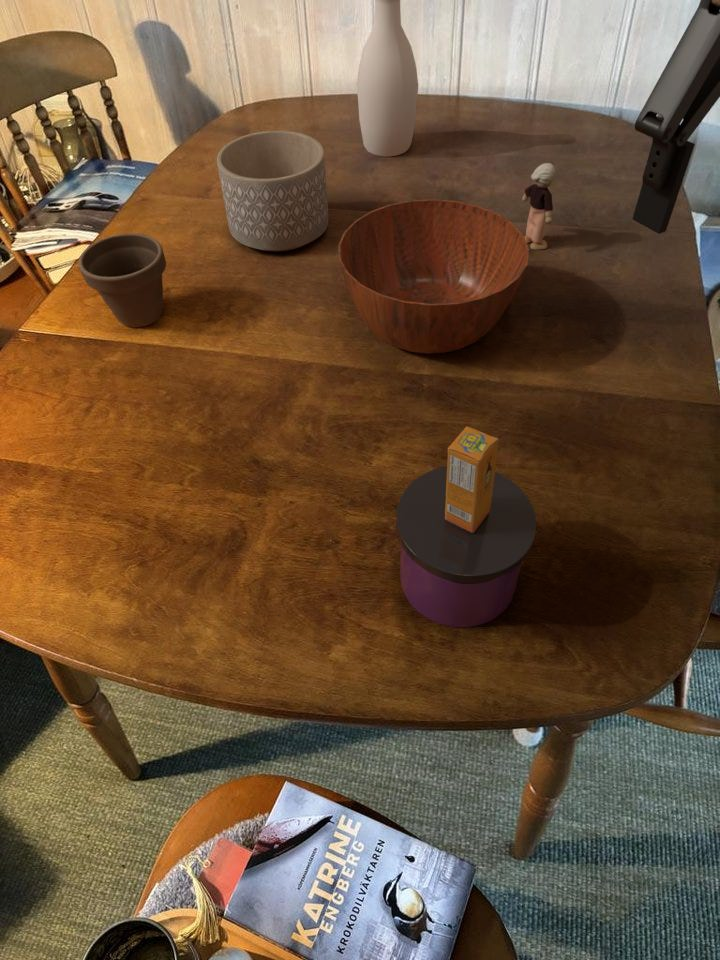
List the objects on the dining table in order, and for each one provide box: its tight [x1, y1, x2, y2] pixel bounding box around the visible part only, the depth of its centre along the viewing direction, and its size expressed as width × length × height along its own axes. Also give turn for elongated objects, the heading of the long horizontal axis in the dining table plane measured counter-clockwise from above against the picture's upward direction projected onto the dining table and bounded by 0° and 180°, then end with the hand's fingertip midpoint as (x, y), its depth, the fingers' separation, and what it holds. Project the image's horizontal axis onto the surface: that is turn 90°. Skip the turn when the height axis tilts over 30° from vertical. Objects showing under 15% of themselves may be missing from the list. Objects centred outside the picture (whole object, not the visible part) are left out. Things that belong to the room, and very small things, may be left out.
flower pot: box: [78, 232, 167, 328], centre depth 101 cm, size 12×11×10 cm
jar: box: [395, 465, 538, 628], centre depth 71 cm, size 13×13×10 cm
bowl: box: [337, 198, 530, 355], centre depth 99 cm, size 25×25×11 cm
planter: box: [216, 130, 330, 252], centre depth 115 cm, size 16×16×13 cm
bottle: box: [356, 0, 419, 158], centre depth 128 cm, size 11×11×25 cm
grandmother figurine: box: [522, 162, 556, 251], centre depth 110 cm, size 8×4×13 cm, turn 34°
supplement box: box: [445, 426, 499, 533], centre depth 63 cm, size 3×3×10 cm
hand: (707, 202), depth 58 cm, fingers open, 13 cm apart
